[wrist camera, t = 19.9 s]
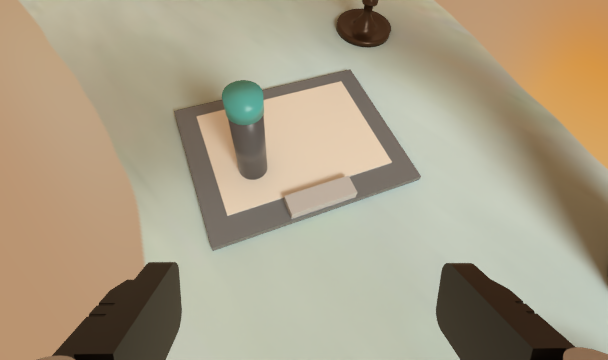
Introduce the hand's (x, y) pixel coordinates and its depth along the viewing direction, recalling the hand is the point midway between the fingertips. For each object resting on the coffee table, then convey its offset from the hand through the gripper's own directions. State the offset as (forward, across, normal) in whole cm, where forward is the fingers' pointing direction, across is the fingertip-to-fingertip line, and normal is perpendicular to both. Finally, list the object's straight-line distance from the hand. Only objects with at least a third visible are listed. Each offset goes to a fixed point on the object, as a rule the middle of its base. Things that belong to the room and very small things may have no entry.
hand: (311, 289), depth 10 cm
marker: (+30, +5, +3) cm, 31 cm away
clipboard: (+34, 0, +1) cm, 34 cm away
